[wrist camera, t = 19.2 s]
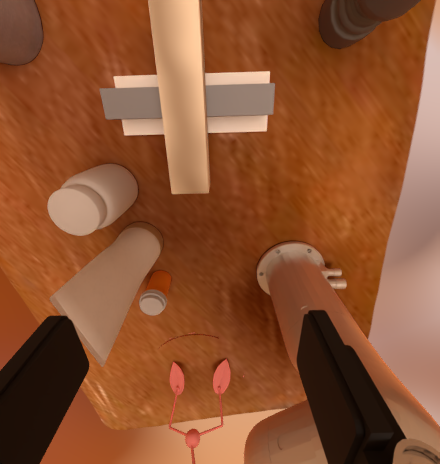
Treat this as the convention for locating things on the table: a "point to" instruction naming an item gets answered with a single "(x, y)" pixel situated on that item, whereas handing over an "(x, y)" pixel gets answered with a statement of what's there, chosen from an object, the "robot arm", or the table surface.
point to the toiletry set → (107, 257)
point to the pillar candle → (19, 31)
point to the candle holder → (357, 18)
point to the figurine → (219, 386)
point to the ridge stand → (217, 98)
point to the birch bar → (182, 91)
